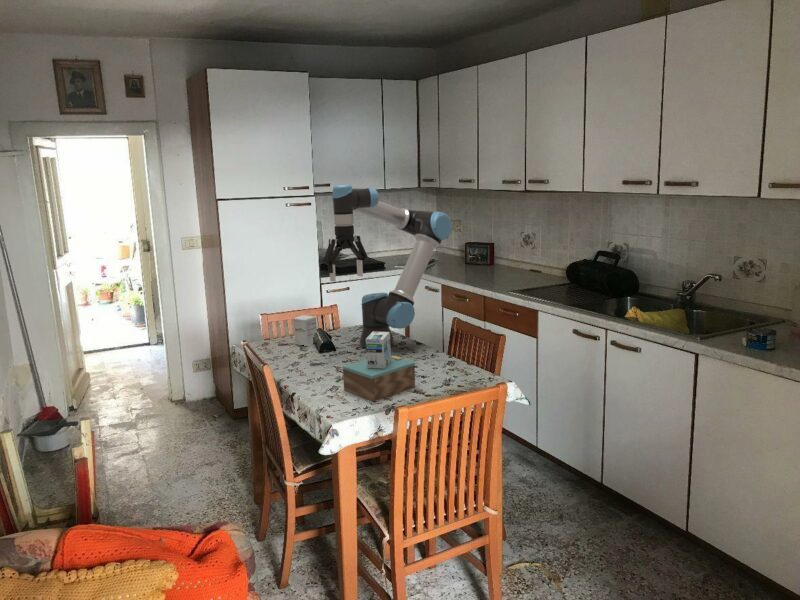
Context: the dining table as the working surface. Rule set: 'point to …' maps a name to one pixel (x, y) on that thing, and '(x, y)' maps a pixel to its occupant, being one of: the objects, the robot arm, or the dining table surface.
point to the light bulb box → (378, 350)
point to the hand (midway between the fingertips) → (346, 278)
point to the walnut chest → (379, 383)
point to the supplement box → (305, 329)
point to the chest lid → (371, 373)
